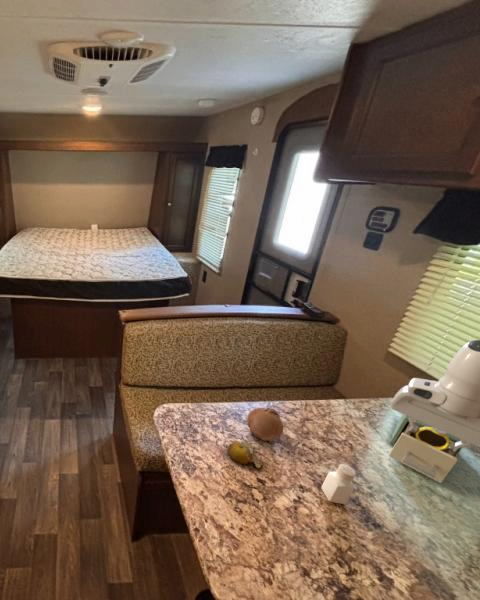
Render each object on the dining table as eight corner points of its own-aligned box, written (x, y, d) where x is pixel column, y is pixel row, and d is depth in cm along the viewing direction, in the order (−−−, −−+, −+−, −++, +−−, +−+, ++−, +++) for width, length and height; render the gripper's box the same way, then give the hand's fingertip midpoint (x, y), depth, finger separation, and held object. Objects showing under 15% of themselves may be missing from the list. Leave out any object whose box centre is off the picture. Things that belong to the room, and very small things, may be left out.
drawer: (438, 494, 79) (456, 471, 76) (384, 465, 86) (398, 443, 83) (445, 456, 90) (461, 435, 86) (397, 433, 97) (409, 412, 94)
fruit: (265, 470, 84) (268, 460, 83) (234, 468, 84) (237, 459, 83) (250, 444, 92) (253, 435, 90) (221, 443, 92) (224, 434, 90)
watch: (411, 441, 87) (421, 425, 84) (412, 436, 88) (422, 420, 86) (442, 455, 83) (454, 439, 80) (443, 450, 84) (454, 433, 82)
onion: (261, 434, 99) (277, 407, 98) (280, 453, 90) (297, 423, 89) (235, 423, 99) (250, 395, 98) (251, 440, 90) (268, 410, 88)
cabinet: (445, 470, 87) (464, 444, 82) (389, 443, 95) (405, 417, 91) (449, 444, 95) (467, 419, 91) (398, 421, 103) (412, 397, 99)
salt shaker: (328, 502, 77) (343, 476, 73) (319, 487, 80) (333, 461, 77) (346, 505, 76) (362, 478, 72) (336, 489, 80) (351, 463, 76)
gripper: (523, 418, 74) (490, 460, 79) (405, 374, 88) (384, 412, 94) (525, 431, 70) (490, 474, 75) (401, 383, 84) (379, 422, 90)
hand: (430, 439), depth 85 cm, fingers closed on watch, 6 cm apart
